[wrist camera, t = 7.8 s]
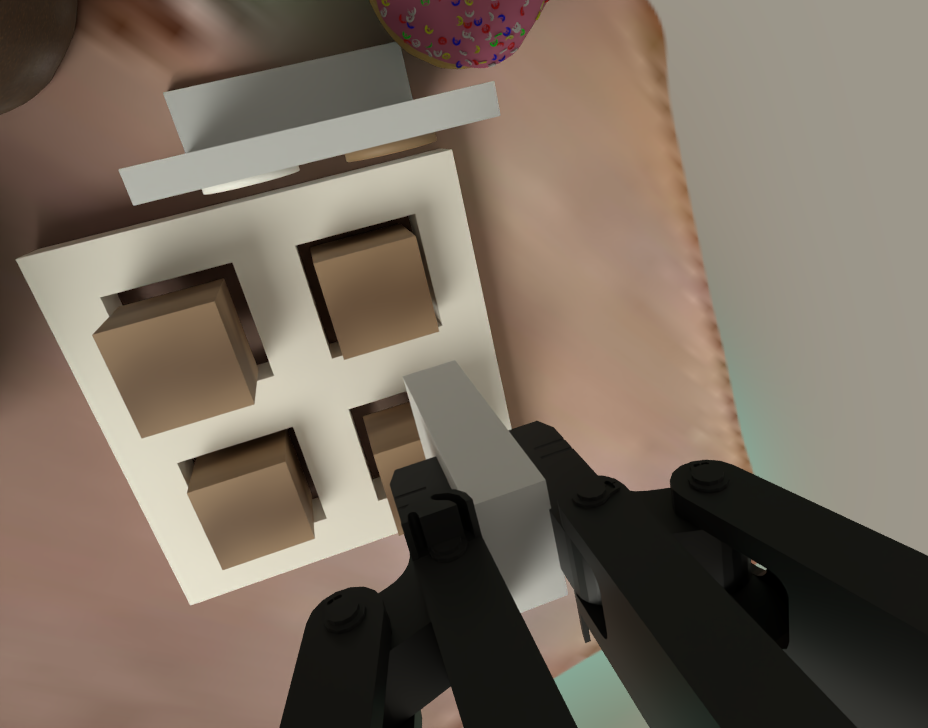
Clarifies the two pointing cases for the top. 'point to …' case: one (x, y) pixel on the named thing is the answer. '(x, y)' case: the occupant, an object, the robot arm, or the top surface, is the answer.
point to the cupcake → (459, 29)
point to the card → (300, 122)
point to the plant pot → (32, 46)
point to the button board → (274, 347)
